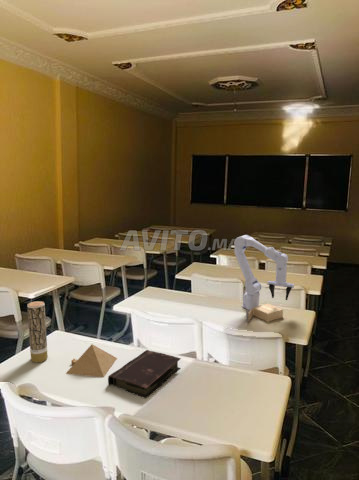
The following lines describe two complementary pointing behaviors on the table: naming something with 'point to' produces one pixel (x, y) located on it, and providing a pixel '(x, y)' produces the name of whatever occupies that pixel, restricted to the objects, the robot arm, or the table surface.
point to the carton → (267, 312)
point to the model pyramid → (92, 363)
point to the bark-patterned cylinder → (37, 331)
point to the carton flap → (249, 314)
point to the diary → (145, 373)
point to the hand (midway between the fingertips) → (279, 298)
